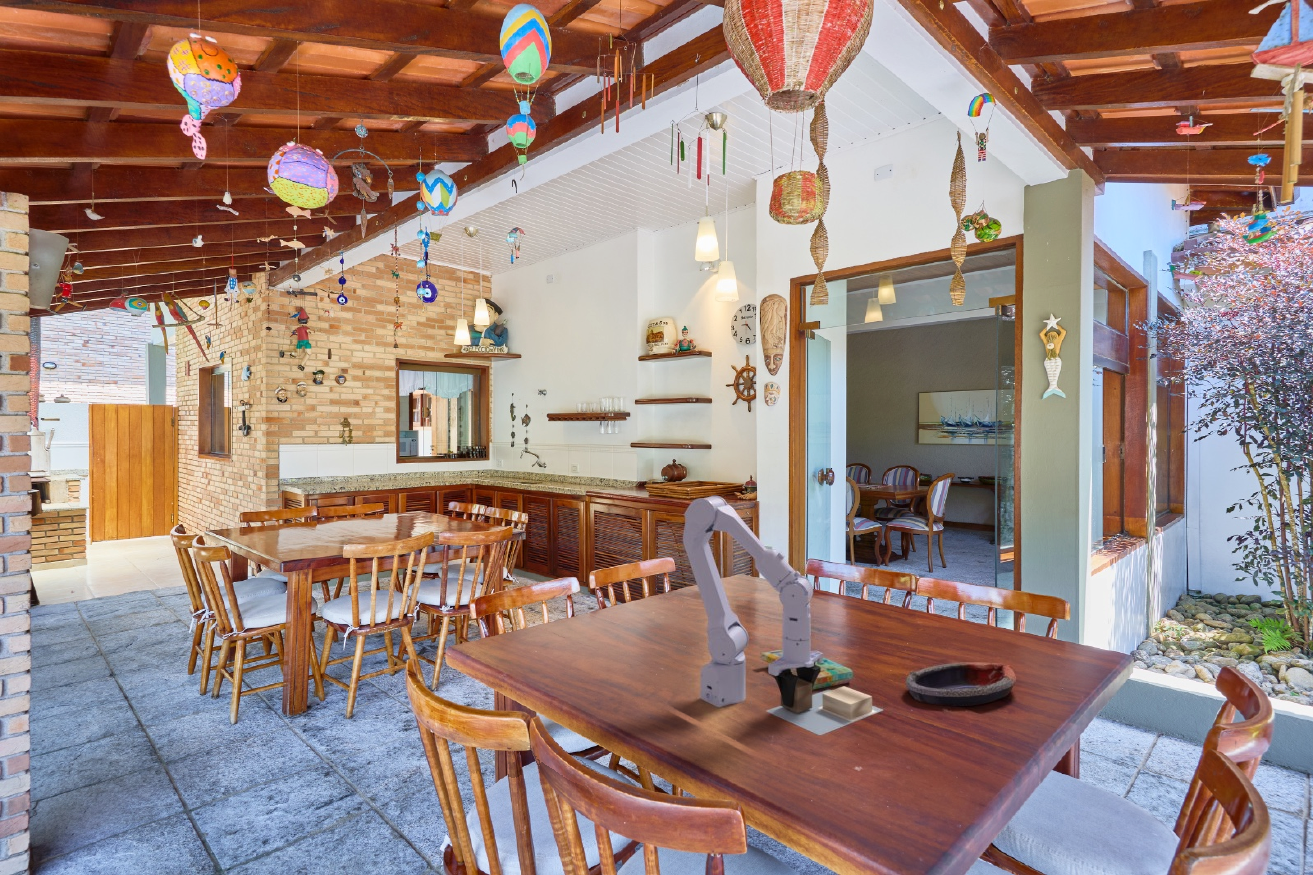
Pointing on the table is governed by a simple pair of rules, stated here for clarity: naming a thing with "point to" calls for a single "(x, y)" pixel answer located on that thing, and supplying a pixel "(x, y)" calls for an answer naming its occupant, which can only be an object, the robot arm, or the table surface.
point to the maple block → (847, 702)
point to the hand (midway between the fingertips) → (796, 702)
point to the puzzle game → (827, 676)
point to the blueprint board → (817, 716)
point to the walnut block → (801, 697)
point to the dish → (961, 683)
